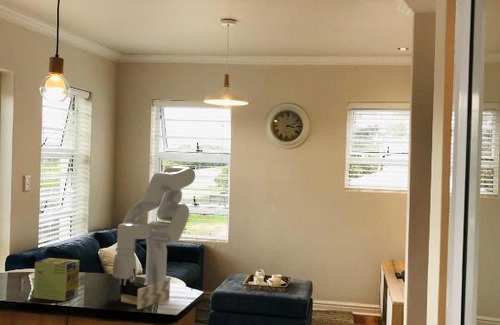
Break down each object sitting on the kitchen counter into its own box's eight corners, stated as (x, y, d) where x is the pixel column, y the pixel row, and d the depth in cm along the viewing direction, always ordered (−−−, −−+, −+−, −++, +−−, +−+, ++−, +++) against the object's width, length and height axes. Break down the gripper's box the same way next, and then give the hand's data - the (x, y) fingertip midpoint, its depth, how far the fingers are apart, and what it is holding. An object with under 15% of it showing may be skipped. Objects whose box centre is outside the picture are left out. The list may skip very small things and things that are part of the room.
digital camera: (151, 301, 220) (152, 285, 220) (143, 304, 216) (143, 287, 216) (133, 297, 226) (134, 281, 226) (124, 299, 221) (125, 283, 221)
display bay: (145, 293, 233) (145, 275, 233) (169, 297, 227) (170, 279, 227) (113, 304, 214) (114, 285, 214) (139, 309, 208) (140, 289, 208)
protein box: (65, 301, 215) (67, 264, 215) (32, 298, 218) (34, 261, 218) (78, 295, 226) (80, 260, 226) (47, 292, 229) (48, 257, 229)
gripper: (106, 251, 225) (104, 293, 225) (133, 255, 218) (131, 298, 218) (118, 248, 231) (116, 289, 231) (144, 252, 225) (143, 294, 225)
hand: (124, 293), depth 225 cm, fingers closed
